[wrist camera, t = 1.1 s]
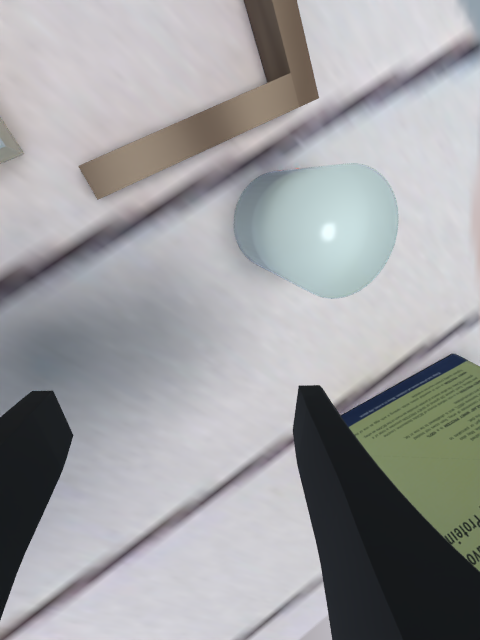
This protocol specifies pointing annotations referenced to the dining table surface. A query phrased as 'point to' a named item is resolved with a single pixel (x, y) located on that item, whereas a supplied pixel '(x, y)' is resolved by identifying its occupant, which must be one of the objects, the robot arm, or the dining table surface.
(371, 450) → the protein box
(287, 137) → the dining table surface
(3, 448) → the robot arm
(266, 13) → the brown square frame
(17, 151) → the beige rectangular block
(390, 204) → the dome-topped pale cylinder
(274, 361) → the dining table surface
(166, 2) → the dining table surface
